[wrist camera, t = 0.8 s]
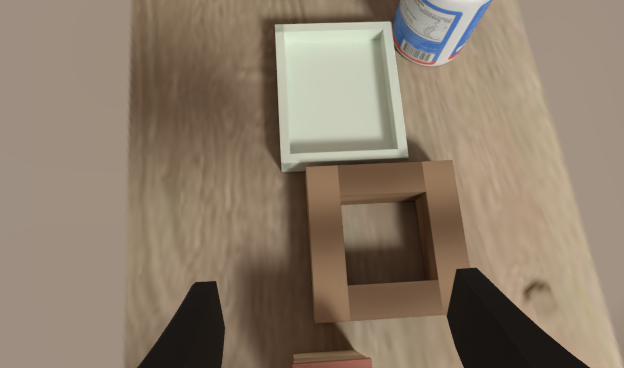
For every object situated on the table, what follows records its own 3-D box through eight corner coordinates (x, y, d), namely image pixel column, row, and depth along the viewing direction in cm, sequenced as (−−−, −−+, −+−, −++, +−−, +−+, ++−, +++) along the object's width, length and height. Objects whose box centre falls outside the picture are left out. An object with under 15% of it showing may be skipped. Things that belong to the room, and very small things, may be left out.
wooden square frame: (460, 312, 26) (476, 312, 24) (313, 322, 26) (315, 323, 23) (439, 172, 29) (452, 160, 26) (304, 178, 28) (306, 166, 26)
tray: (401, 166, 29) (408, 157, 27) (281, 172, 28) (281, 163, 27) (385, 37, 32) (390, 21, 30) (275, 40, 31) (274, 24, 29)
